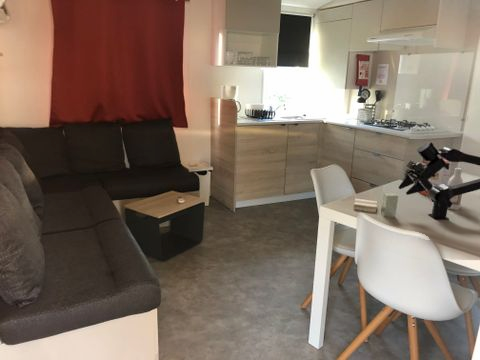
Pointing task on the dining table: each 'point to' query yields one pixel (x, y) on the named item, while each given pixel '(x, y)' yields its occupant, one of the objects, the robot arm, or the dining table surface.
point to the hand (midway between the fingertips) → (402, 191)
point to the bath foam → (453, 181)
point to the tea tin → (389, 204)
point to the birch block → (365, 205)
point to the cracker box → (439, 177)
